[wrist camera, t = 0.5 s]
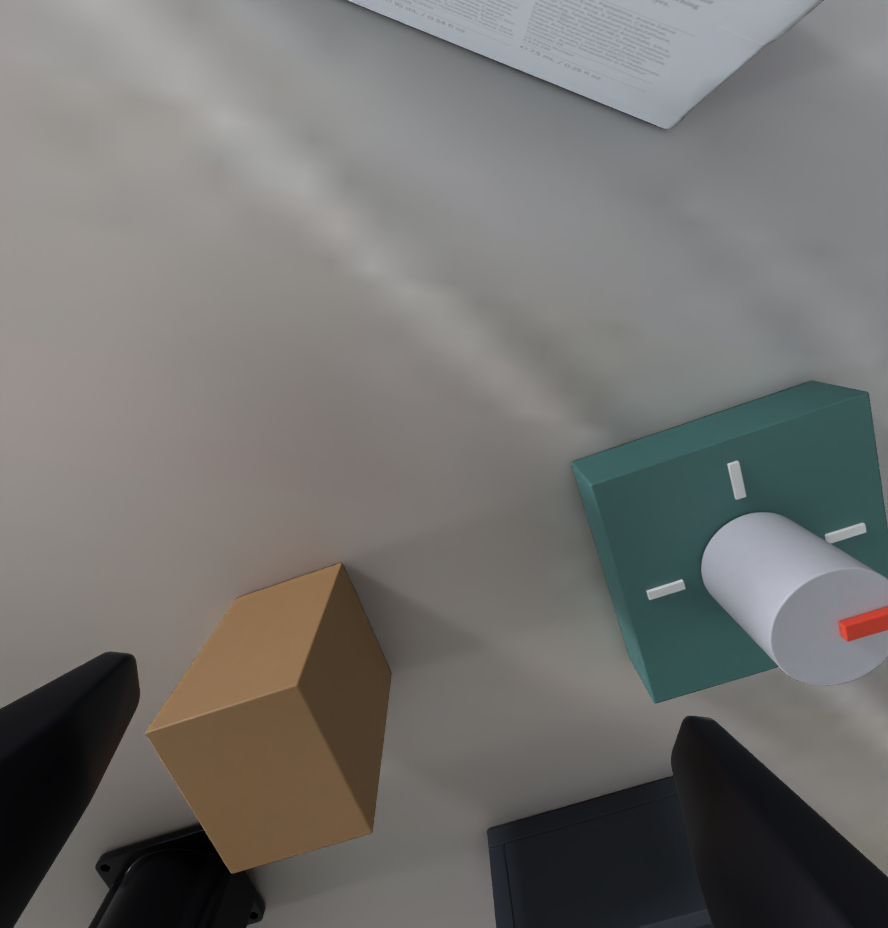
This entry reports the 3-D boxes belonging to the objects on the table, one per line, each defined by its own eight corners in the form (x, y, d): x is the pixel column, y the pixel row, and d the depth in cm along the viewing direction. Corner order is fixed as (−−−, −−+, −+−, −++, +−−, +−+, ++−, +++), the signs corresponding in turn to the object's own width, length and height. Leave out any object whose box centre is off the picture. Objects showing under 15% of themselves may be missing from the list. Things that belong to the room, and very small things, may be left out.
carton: (292, 705, 26) (230, 875, 18) (236, 597, 24) (143, 733, 17) (392, 674, 25) (373, 834, 18) (342, 561, 24) (297, 683, 16)
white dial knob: (712, 621, 21) (788, 709, 17) (690, 531, 20) (764, 598, 16) (815, 590, 21) (921, 670, 16) (798, 496, 20) (906, 554, 15)
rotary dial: (629, 659, 25) (656, 707, 22) (570, 461, 23) (591, 485, 20) (848, 592, 25) (906, 633, 22) (812, 379, 22) (873, 391, 19)
